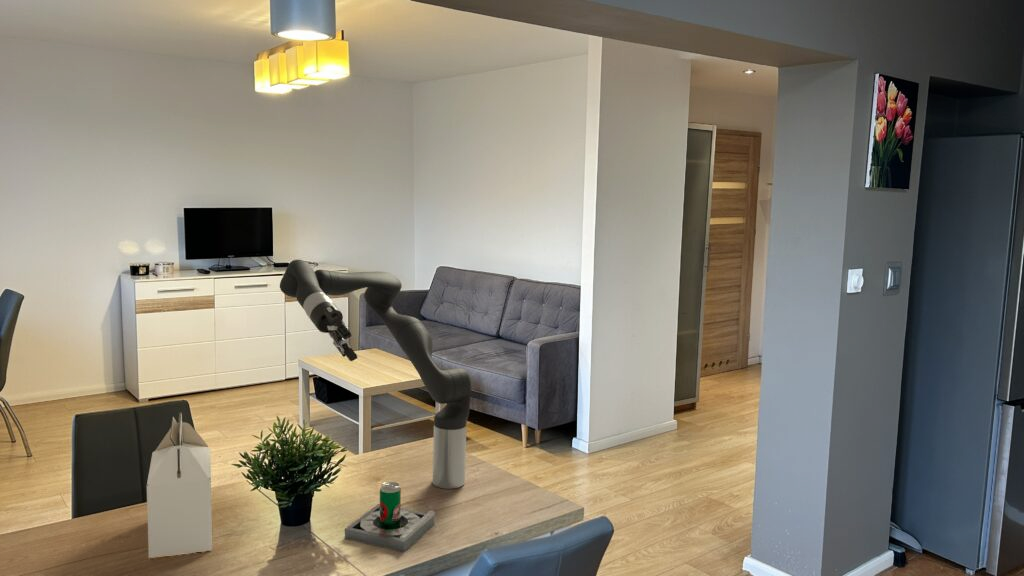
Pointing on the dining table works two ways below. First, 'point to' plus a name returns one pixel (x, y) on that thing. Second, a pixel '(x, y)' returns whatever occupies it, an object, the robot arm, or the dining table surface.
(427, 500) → the dining table surface
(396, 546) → the jig
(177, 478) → the gable box
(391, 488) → the soda can
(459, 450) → the robot arm
